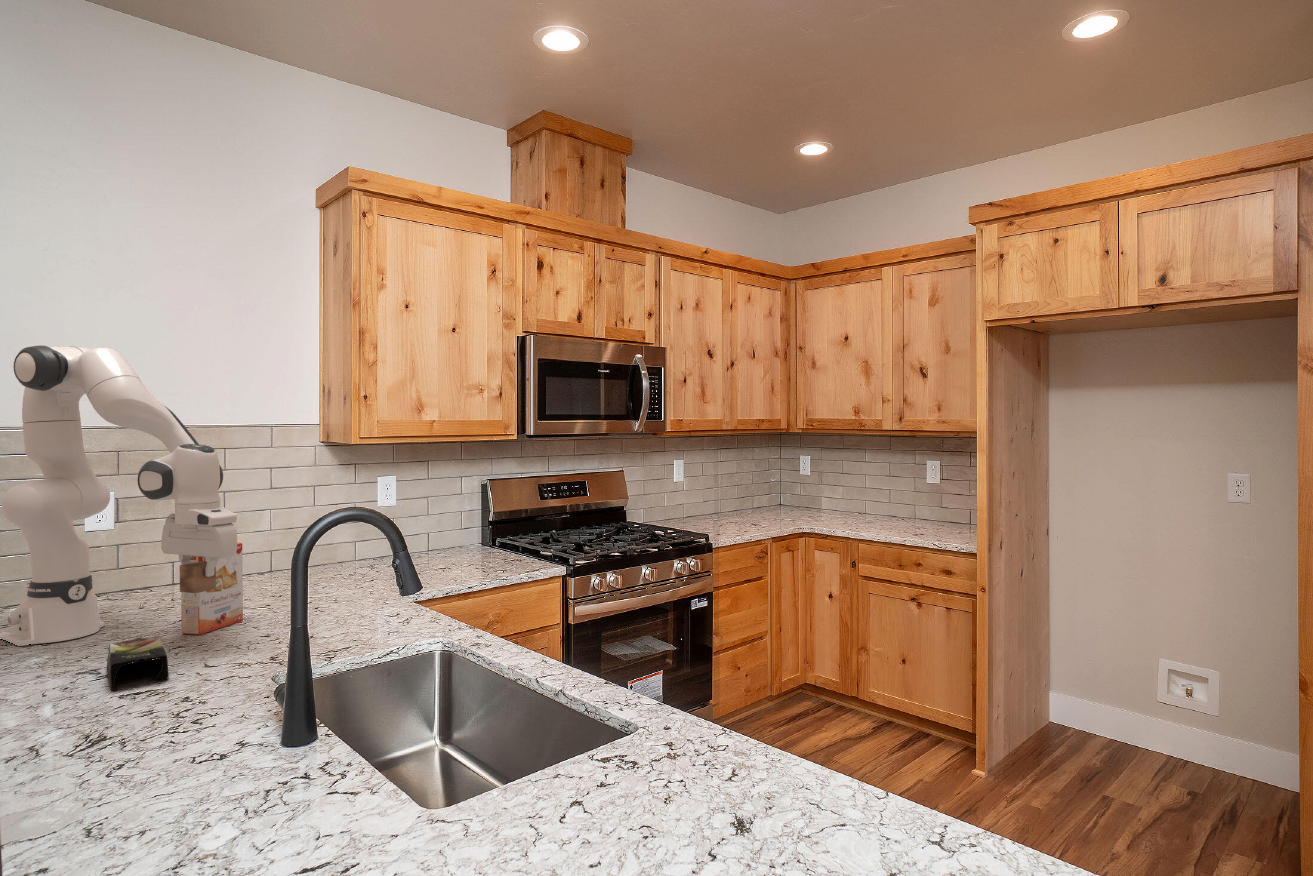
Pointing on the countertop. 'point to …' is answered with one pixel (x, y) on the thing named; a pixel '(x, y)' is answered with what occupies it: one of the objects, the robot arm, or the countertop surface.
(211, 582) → the walnut block
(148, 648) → the black open-ended box
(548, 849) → the countertop surface
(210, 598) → the cracker box
